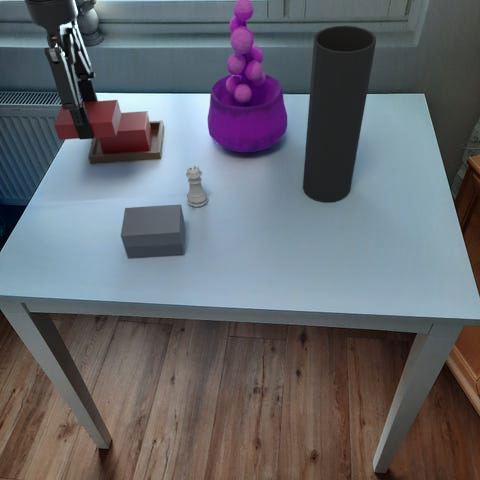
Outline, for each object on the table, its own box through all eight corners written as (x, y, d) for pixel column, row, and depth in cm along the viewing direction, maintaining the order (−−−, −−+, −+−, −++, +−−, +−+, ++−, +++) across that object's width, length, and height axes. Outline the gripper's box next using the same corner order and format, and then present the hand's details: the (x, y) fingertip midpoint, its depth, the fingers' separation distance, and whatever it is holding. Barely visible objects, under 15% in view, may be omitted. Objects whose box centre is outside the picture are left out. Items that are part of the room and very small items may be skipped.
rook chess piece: (211, 197, 102) (207, 165, 95) (203, 210, 99) (198, 178, 93) (192, 193, 103) (187, 161, 97) (184, 205, 100) (178, 174, 94)
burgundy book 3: (103, 155, 112) (100, 144, 109) (108, 136, 116) (104, 125, 114) (150, 152, 111) (147, 141, 109) (152, 134, 116) (149, 122, 114)
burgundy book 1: (59, 139, 90) (53, 125, 88) (67, 117, 95) (62, 103, 93) (116, 136, 90) (111, 121, 88) (121, 114, 95) (117, 99, 92)
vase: (360, 191, 101) (389, 41, 77) (321, 208, 98) (339, 58, 74) (330, 167, 106) (349, 20, 82) (293, 183, 103) (301, 35, 79)
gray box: (128, 258, 92) (120, 235, 87) (131, 230, 96) (124, 207, 92) (184, 255, 92) (179, 232, 87) (185, 227, 96) (181, 204, 92)
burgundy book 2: (100, 144, 109) (96, 132, 107) (104, 125, 114) (101, 113, 112) (147, 141, 109) (144, 129, 107) (149, 122, 114) (147, 110, 111)
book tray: (91, 166, 111) (88, 156, 108) (99, 134, 119) (96, 124, 117) (161, 162, 110) (159, 152, 108) (164, 130, 119) (163, 120, 116)
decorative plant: (293, 157, 109) (301, 12, 85) (214, 167, 108) (200, 24, 84) (277, 115, 120) (280, -24, 97) (206, 124, 119) (190, -14, 95)
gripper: (56, 17, 68) (101, 155, 86) (82, -34, 80) (117, 97, 98) (5, 20, 68) (61, 157, 86) (39, -31, 80) (81, 99, 99)
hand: (90, 125), depth 92 cm, fingers closed on burgundy book 1, 8 cm apart
